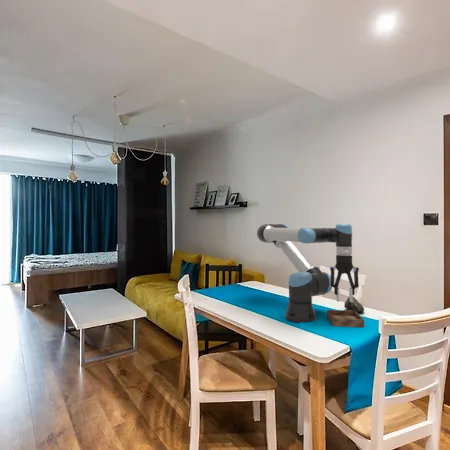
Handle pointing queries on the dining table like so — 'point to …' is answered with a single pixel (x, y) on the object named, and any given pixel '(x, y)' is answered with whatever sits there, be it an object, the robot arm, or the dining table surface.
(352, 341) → the dining table surface
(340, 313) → the walnut tray
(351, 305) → the fossil
